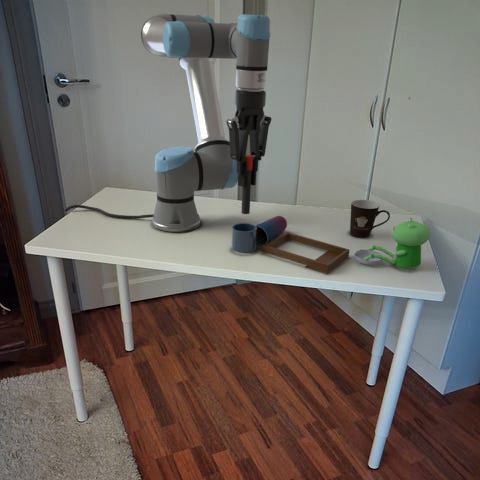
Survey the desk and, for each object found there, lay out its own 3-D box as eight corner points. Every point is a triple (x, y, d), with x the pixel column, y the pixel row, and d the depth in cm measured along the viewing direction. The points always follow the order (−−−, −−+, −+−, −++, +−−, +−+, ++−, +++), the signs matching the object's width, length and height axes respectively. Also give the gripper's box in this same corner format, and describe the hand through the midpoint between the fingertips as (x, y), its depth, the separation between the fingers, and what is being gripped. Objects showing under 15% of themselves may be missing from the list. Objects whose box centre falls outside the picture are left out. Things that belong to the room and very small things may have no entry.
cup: (287, 236, 150) (265, 251, 139) (268, 230, 153) (245, 244, 141) (291, 216, 147) (269, 229, 135) (272, 210, 149) (249, 222, 138)
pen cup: (226, 250, 138) (227, 228, 134) (240, 243, 143) (241, 221, 139) (246, 257, 134) (247, 234, 131) (260, 249, 139) (261, 226, 136)
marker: (239, 213, 132) (241, 155, 124) (244, 210, 134) (246, 154, 126) (246, 215, 131) (249, 157, 123) (251, 212, 133) (254, 155, 125)
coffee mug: (341, 234, 152) (345, 203, 147) (355, 227, 158) (360, 197, 152) (373, 244, 145) (379, 213, 140) (386, 237, 151) (393, 206, 146)
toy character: (359, 255, 141) (363, 212, 134) (424, 260, 136) (431, 216, 129) (357, 268, 133) (361, 224, 126) (425, 274, 128) (433, 228, 121)
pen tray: (262, 253, 137) (263, 245, 135) (286, 239, 146) (287, 232, 145) (327, 274, 127) (328, 265, 125) (348, 257, 136) (349, 249, 135)
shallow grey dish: (353, 265, 132) (354, 259, 131) (353, 254, 138) (354, 248, 137) (382, 269, 130) (383, 262, 129) (381, 257, 137) (383, 251, 136)
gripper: (235, 92, 109) (232, 193, 122) (284, 89, 118) (277, 183, 131) (216, 89, 114) (215, 186, 127) (264, 86, 123) (259, 177, 135)
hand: (246, 184), depth 129 cm, fingers closed on marker, 3 cm apart
